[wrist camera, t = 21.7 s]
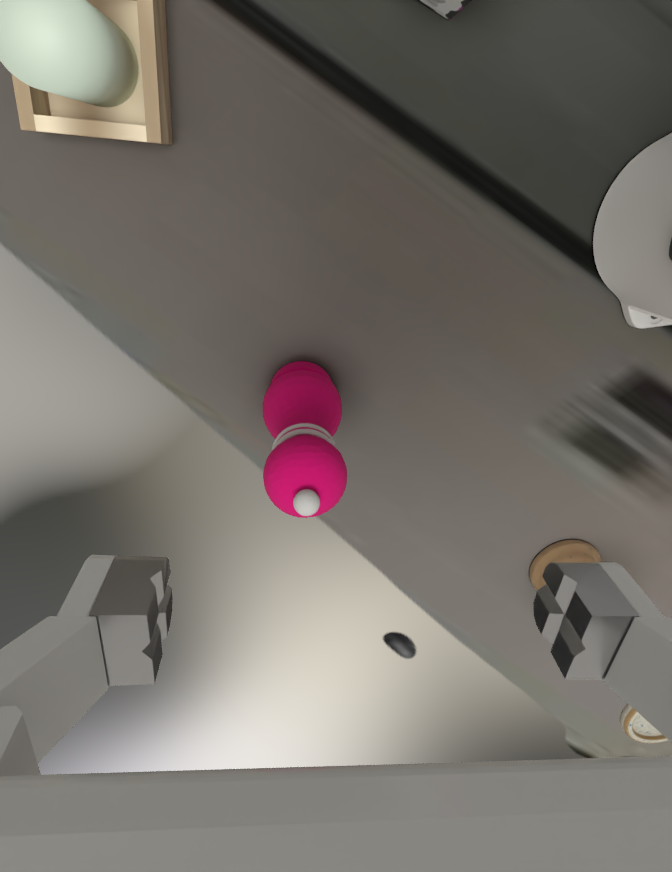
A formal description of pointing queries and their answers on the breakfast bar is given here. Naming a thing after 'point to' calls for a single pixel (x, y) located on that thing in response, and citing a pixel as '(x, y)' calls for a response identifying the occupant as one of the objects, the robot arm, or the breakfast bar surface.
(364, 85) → the breakfast bar surface
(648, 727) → the candle holder
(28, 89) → the square wooden tray
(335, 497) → the pepper mill
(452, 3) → the candy bar box
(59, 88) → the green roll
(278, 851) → the robot arm
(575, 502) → the breakfast bar surface
